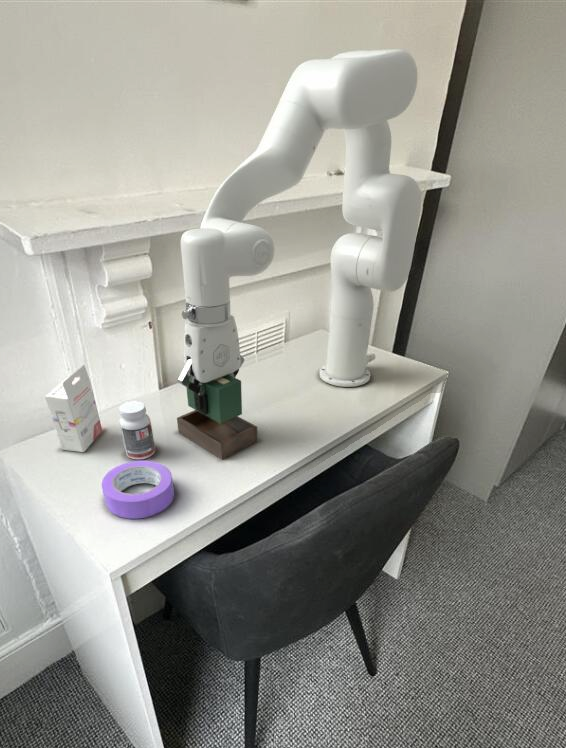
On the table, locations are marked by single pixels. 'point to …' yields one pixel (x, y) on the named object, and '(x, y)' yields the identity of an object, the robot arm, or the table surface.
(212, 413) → the green box
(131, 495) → the tape roll
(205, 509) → the table surface
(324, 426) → the table surface
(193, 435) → the caddy
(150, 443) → the pill bottle
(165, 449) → the table surface
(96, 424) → the ink cartridge box
